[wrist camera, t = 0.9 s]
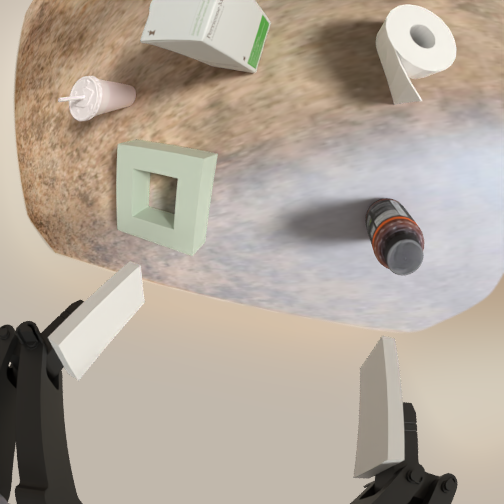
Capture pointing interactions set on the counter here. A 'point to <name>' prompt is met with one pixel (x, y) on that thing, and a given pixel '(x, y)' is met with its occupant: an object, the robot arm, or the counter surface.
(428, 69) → the toilet paper
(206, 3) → the skincare box
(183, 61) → the counter surface
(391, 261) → the supplement bottle
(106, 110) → the smoothie
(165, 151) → the block
